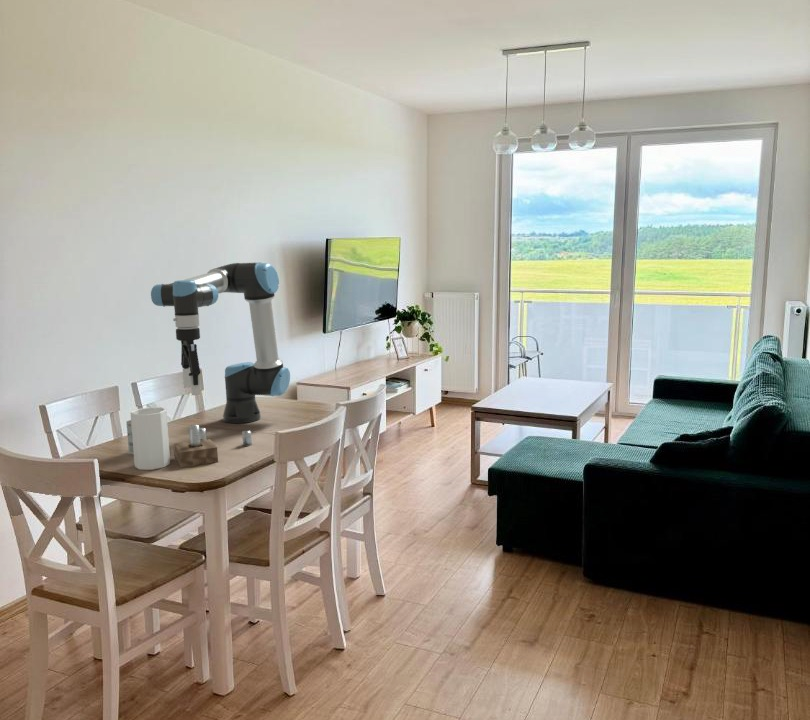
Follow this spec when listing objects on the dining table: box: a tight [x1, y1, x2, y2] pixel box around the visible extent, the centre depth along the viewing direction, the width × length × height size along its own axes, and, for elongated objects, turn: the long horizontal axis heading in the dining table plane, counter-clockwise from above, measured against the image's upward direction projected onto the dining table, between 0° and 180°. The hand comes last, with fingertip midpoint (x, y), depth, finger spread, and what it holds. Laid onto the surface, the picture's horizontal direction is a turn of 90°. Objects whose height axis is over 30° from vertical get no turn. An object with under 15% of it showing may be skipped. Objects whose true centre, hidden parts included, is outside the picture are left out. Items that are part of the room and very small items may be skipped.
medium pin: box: [199, 427, 207, 440], centre depth 262 cm, size 3×3×8 cm
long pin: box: [188, 423, 201, 448], centre depth 251 cm, size 3×3×12 cm
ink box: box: [126, 419, 134, 455], centre depth 261 cm, size 9×5×12 cm, turn 66°
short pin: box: [241, 429, 253, 447], centre depth 270 cm, size 3×3×5 cm
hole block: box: [173, 438, 219, 468], centre depth 252 cm, size 12×12×5 cm
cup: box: [130, 406, 171, 471], centre depth 246 cm, size 11×11×18 cm
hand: (192, 391), depth 249 cm, fingers open, 13 cm apart
